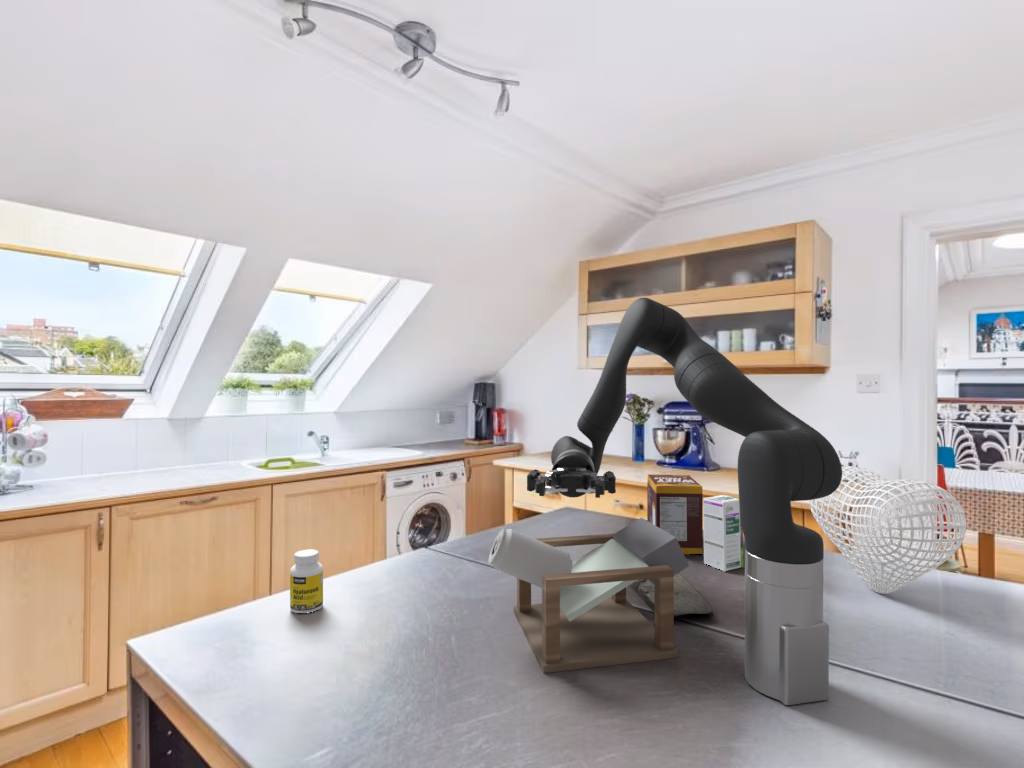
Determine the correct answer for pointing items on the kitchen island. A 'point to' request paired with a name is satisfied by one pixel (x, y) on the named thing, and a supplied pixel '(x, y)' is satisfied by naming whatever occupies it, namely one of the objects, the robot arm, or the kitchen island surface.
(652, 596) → the stone slab
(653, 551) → the trapdoor plate
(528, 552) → the beverage can
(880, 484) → the heart
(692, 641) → the kitchen island surface
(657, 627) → the wooden rack
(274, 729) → the kitchen island surface
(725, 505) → the syrup box
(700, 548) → the supplement box
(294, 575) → the supplement bottle
